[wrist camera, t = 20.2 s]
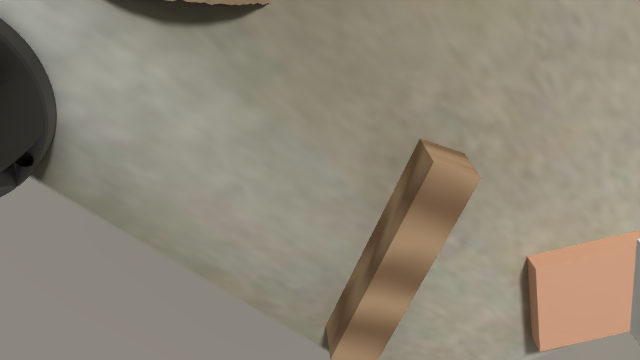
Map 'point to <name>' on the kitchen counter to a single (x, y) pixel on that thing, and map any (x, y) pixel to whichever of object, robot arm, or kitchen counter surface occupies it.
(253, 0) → the curved brown bark piece
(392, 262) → the walnut stick
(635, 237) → the terracotta tile
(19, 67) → the robot arm
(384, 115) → the kitchen counter surface
